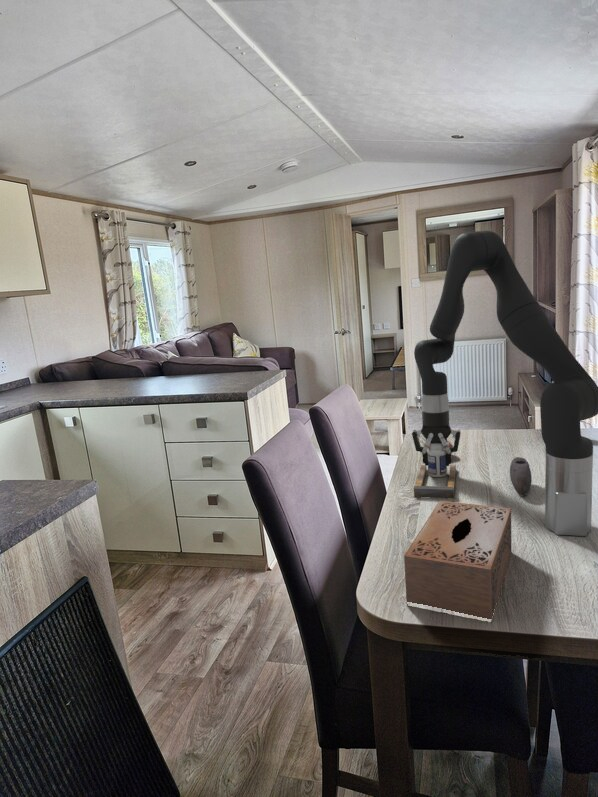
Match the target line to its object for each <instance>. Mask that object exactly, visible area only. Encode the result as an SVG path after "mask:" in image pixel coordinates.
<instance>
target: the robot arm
mask: <svg viewBox="0 0 598 797" xmlns="http://www.w3.org/2000/svg"><path fill="white" fill-rule="evenodd" d="M510 254H511V253H510V252H509V250H508V248H507V246H506V244H505V241H504V240H503V239H502V238H501V237H500V235H499V234H498V233H496V232H495V231H492V230H476V231H468V232H463V233H461V234H459V235H458V236H457V238H455V240H454V242H453V245H452V247H451V250H450V254H449V257H448V263H447V267H446V272H445V278H444V282H443V287H442V291H441V296H440V299H439V303H438V305H437V308H436V311H435V313H434V315H433V317H432V320H431V322H430V324H429V325H430V326H429V332H430V334H431V335H432V336H433V337H434V338H431V339H423V340H420V341H419V342H417V343H416V345H415V346H414V350H413V354H414V360H415V363H416V366H417V370H418V372H419V373H418V374H419V376H420V379H421V418H422V419H421V420H422V422H421V424H422V427H421V429H418V430H416V429H413V430H412V432H411V435H412V440H413V445H414V448H415V451H416V452H419V453H421V454H422V456H421V457H422V463H423V464H422V465H425V466H426V467H428V457H427V451H428V450H429V449H428V447H429V445H430V443H431V444H434V443H439V444H443V446H444V448H445V449H446V466H447V467H450V465H451V464H452V462H453V461H452V460H453V459H452V454H453V453H454V452H455V453H457V452H459V451H458V450H459V449H458V448H459V443H460V439H461V430H460V429H456V430H454V429H452V428H451V426H450V402H449V395H448V378H447V374H446V373H444V372H443V371H436V370H435V367H434V365H437V364H442V363H446V362H448V361H449V360H450V359H451V358H452V356H453V354H454V351H455V347H454V346H455V339H456V333H457V331H458V329H459V326H460V324H461V321H462V320H463V316H464V314H465V300H464V293H463V292H464V285H465V282H466V281H467V279H468V277H469V275H470V274H471V272H477V271H484V272H485V274H487V275H488V277H489V278H490V280H491V282H492V283H493V285H494V287H495V291H496V317H497V321H498V322H499V324H500V327H501V328H502V329H503V331H504V333H505V335H506V336H507V337H508V339H509V341H510V342H511V343H512V345H513V346H514V347H515V348H517V349H518V350H519V351H520V352H522V353H523V354H524V355H526V356H528V358H530V359H531V360H533V361H534V362H536V364H538V365H539V366H540V367H542V368H543V369H544V371H545V372H546V373H547V375H548V376H549V377H550V378H551V380H552V381H553V382H554V383H552V382H551V383H549V384H548V385H547V386H545V388H544V389H543V391H542V393H541V396H540V402H539V404H540V405H539V410H540V411H539V412H540V413H539V414H540V428H541V430H540V431H541V438H542V440H543V441H542V442H543V444H544V447H545V468H544V470H545V475H544V476H545V477H544V478H545V479H544V480H545V481H544V483H545V484H544V486H545V487H544V488H545V495H544V496H545V497H544V498H545V499H544V502H545V503H544V510H545V511H544V523H545V527H546V529H548V530H549V531H552V532H553V533H554V534H555V535H557V536H558V535H559V536H561V535H562V536H577V537H578V536H579V537H581V536H582V537H587V536H588V533H590V532H591V531H592V516H593V512H592V510H593V509H592V508H593V507H592V504H593V502H592V501H593V466H594V443H593V441H592V439H590V438H588V437H586V436H584V435H583V436H582V430H581V421H582V422H583V421H586V420H588V419H592V418H594V417H596V416H597V415H598V385H597V383H596V381H595V380H594V379H593V378H592V376H590V374H589V373H588V372H587V370H586V369H585V368H584V367H583V366H582V365H581V363H580V362H579V361H578V359H577V358H576V357H575V356H574V355H573V353H572V352H571V350H569V348H568V346H567V344H566V343H565V342H564V341H563V339H562V337H561V336H560V334H559V333H558V331H557V329H555V327H554V326H553V324H552V322H551V320H550V319H549V317H548V315H547V314H546V312H545V311H544V309H543V307H542V306H541V305H540V303H539V302H538V300H537V298H536V297H535V296H534V295H533V293H532V292H531V290H530V288H529V287H528V285H527V283H526V281H524V279H523V277H522V275H521V273H520V272H519V270H518V269H517V266H516V264H515V263H514V260H513V258H512V255H510ZM421 434H422V436H423V437H424V438H425V439H426V440H425V442H424V445H423V446H422V445H421V442H420V437H421ZM451 435H452V438H453V439H454V443H453V447H450V445H449V442H450V441H449V440H448V438H449V437H450V436H451ZM448 441H449V442H448Z"/></svg>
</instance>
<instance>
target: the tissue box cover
mask: <svg viewBox="0 0 598 797" xmlns="http://www.w3.org/2000/svg"><path fill="white" fill-rule="evenodd" d="M512 551H513V550H512V507H502V506H493V505H483V504H472V503H467V502H466V503H465V502H464V503H463V502H455V501H446V500H439V501H438V502H437V504H436V505H435V507H434V509H433V510H432V512H431V513H430V515H429V516H428V518H427V520H426V521H425V523H424V525H423V526H422V528H421V529H420V531H418V534H417V535H416V537H415V539H414V540H413V542H412V543H411V545H410V546H409V548H408V549H407V551H406V552H405V554H404V555H403V556H404V557H403V558H404V577H405V582H404V583H405V598H406V601H407V602H412V603H417V604H423V605H428V606H432V607H437V608H442V609H446V610H451V611H455V612H459V613H464V614H468V615H473V616H477V617H482V618H487V619H492V616H493V613H494V609H495V606H496V603H497V604H498V602H497V600H498V601H499V599H498V597H500V595H499V593H500V594H501V591H502V588H501V586H502V587H503V584H504V581H503V579H504V580H505V577H506V574H505V573H507V570H508V567H509V563H510V560H511V555H512V554H513V552H512ZM509 559H510V560H509ZM507 566H508V567H507ZM506 569H507V570H506ZM504 576H505V577H504ZM502 583H503V584H502ZM500 590H501V591H500ZM407 602H406V603H407ZM496 607H497V606H496ZM495 610H496V609H495ZM494 614H495V613H494ZM493 617H494V616H493Z"/></svg>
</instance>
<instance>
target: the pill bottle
mask: <svg viewBox="0 0 598 797" xmlns="http://www.w3.org/2000/svg"><path fill="white" fill-rule="evenodd" d="M429 447H430V449H427V457H428V466H427V474H428V475H429V476H430V477H432V478H443V477H445V476H447V474H448V466H446V450H445V449H443V447H444V446H443V444H439V443H434V444H431V443H430V445H429Z"/></svg>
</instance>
